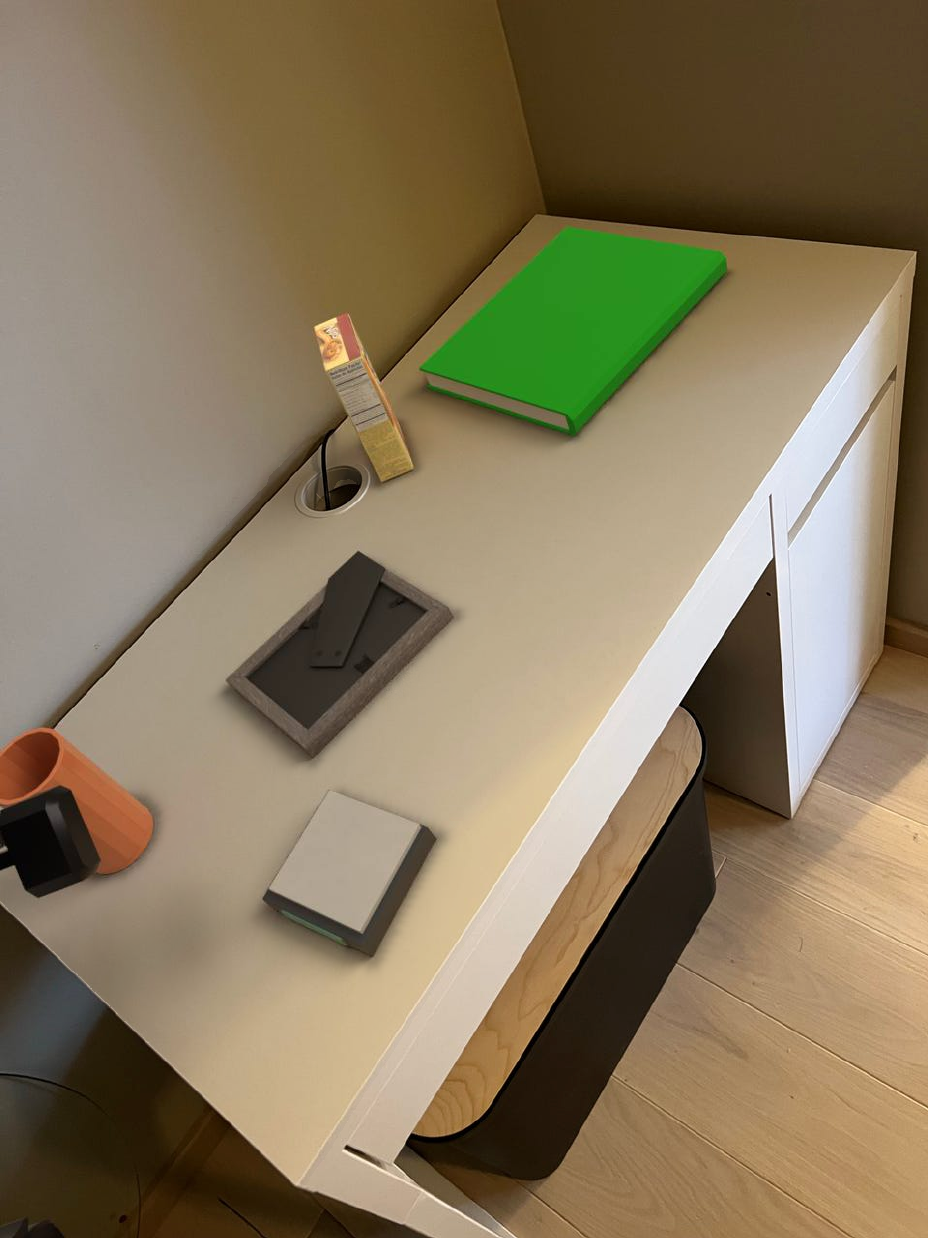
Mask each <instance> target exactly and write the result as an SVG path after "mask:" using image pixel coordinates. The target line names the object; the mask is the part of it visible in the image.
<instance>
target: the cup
mask: <svg viewBox="0 0 928 1238" xmlns="http://www.w3.org/2000/svg"><path fill="white" fill-rule="evenodd" d="M59 785H61V786H64V787H66V788H68V789H71V791H72V793H73V795H74V798H75V800H76V802H77V805H78V807H79V809H80V812H81V814H82V817H83V819H84V821H85V824H86V826H87V828H88V831H89V833H90V835H91V838H92V840H93V843H94V845H95V847H96V850H97V852H98V854H99V857H100V859H101V862H100V864H99V867H98V869H97V871H96V872H95V873H97V874H101V875H110V874H114V873H117V872H120V871H122V870H124V869H126V868H128V867H129V866H131V865H132V864H133V863H134V862H135V861H136V860H138V858H140V856H141V855H142V854H143V852H144V851H145V849H146V848H147V847H148V844H149V843H150V841H151V838H152V835H153V831H154V819H153V815H152V812H151V811H150V810H149V809H148V807H147V806H145V805H144V804H143V803H142V802H141V801H140V800H139V799H137V798H136V797H135V796H134V795H133V794H131V793H130V792H129V791H128V790H126V788H124V787H123V786H122V785H121V784H119V783H118V782H117V781H116V780H115V779H114V778H112V777H111V776H110V775H109V774H108V773H106V771H104V769H102V768H101V767H99V766H98V765H97V764H96V763H95V762H93V760H91V759H90V758H89V757H87V756H86V755H85V754H84V753H83V752H82V751H81V750H79V749H78V748H77V747H76V746H75V745H73V744H72V742H70V741H69V740H68V739H66V738H65V737H64V736H63V735H62V734H61V733H59V732H58V731H57V730H56V729H54V728H48V727H37V728H34V729H30V730H27V731H25V732H23V733H22V734H20V735H18V736H17V737H15V738H13V739H11V741H10V742H9V743H8V744H7V745H6V746H5V747H4V748H2V749H1V751H0V808H2V809H4V808H6V807H8V806H10V805H12V804H14V803H17V802H19V801H21V800H24V799H26V798H28V797H31V796H34V795H36V794H39V793H41V792H44V791H46V790H49V789H51V788H54V787H56V786H59Z"/></svg>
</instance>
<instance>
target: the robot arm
mask: <svg viewBox="0 0 928 1238" xmlns="http://www.w3.org/2000/svg"><path fill="white" fill-rule="evenodd" d="M3 848H6V849H4V850H2V851H0V872H1V871H3V870H6V869H9V868H11V867H13V866H14V868H15V870H16V873H17V875H18V878H19V880H20V882H21V884H22V886H23V889H24V891H25V892H27V893H28V894H30V895H32V896H33V897H35V898H36V899H40V898H43V897H45V896H48V895H51V894H53V893H56V892H58V891H61V890H64V889H66V888H69V887H71V886H75V885H76V884H79V883H82V882H85V881H86V880H87V879H89V878H90V877H91V876H92V875H94V874H95V873H96V871H97V869H98V867H99V864H100V862H101V859H100V857H99V854H98V852H97V850H96V847H95V845H94V843H93V840H92V838H91V835H90V833H89V831H88V828H87V826H86V824H85V821H84V819H83V817H82V814H81V812H80V809H79V807H78V805H77V802H76V800H75V798H74V795H73V793H72V791H71V789H68V788H66V787H64V786H61V785H59V786H56V787H54V788H51V789H49V790H46V791H44V792H41V793H39V794H36V795H34V796H31V797H28V798H26V799H24V800H21V801H19V802H17V803H14V804H12V805H10V806H8V807H6V808H4V809H3V808H2V809H0V849H3ZM29 1222H30V1221H29V1218H28V1217H23V1218H19V1219H17V1220H14V1221H12V1222H8V1223H6V1224H3V1225H0V1238H66V1237H65V1236H64V1234H63V1233H62V1231H61V1230H60V1229H59V1227H57V1226H56V1225H55V1223H54V1222H53V1221H52V1220H51V1219H46V1220H41V1221H38V1222H35V1223H32V1224H30V1223H29Z"/></svg>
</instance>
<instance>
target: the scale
mask: <svg viewBox="0 0 928 1238" xmlns="http://www.w3.org/2000/svg"><path fill="white" fill-rule="evenodd" d="M436 840H437V837H436V836H435V834H434V833H433V832H432V830H431V829H430V828H429V827H428V826H427V825H424V824H421V823H418V822H416V821H414V820H410V819H407V818H405V817H402V816H400V815H397V814H394V813H392V812H390V811H387V810H384V809H382V808H379V807H376V806H374V805H371V804H369V803H366V802H363V801H361V800H358V799H355V798H353V797H351V796H347V795H345V794H342V793H340V792H337V791H334V790H332V789H328V790H327V791H326V794H325V795H324V796H323V798H322V800H321V802H320V803H319V805H318V806H317V808H316V809H315V811H314V812H313V815H312V816H311V817H310V820H309V821H308V823H307V824H306V826H305V827H304V829H303V831H302V832H301V834H300V835H299V837H298V839H297V840H296V842H295V844H294V845H293V847H292V848H291V850H290V852H289V854H288V855H287V857H286V859H285V860H284V862H283V863H282V864H281V867H280V868H279V870H278V871H277V874H276V875H275V877H274V878H273V880H272V881H271V883H270V884H269V886H268V888H267V889H266V891H265V893H264V894H263V896H262V897H261V900H262V901H263V902H264V903H265V904H267V905H268V906H269V907H270V908H271V909H273V910H275V911H277V912H279V913H281V914H282V915H284V916H285V917H286V918H287V919H290V920H292V921H294V922H296V923H298V924H300V925H302V926H304V927H306V928H308V929H310V930H312V931H315V932H317V933H318V934H320V935H323V936H325V937H327V938H329V939H331V940H333V941H335V942H337V943H339V944H342V945H343V946H345V947H348V946H349V947H351V948H353V949H355V950H357V951H359V952H362V953H364V954H365V955H368V956H370V957H372V958H373V957H374V956H375V954H376V952H377V950H378V948H379V946H380V944H381V942H382V941H383V939H384V937H385V935H386V934H387V931H388V930H389V927H390V926H391V924H392V922H393V920H394V918H395V916H396V915H397V913H398V911H399V909H400V907H401V905H402V904H403V902H404V900H405V898H406V896H407V895H408V893H409V891H410V889H411V887H412V885H413V883H414V881H415V879H416V878H417V876H418V873H419V872H420V870H421V868H422V867H423V865H424V863H425V861H426V859H427V857H428V856H429V854H430V852H431V850H432V848H433V846H434V844H435V843H436Z"/></svg>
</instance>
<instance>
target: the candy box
mask: <svg viewBox="0 0 928 1238" xmlns="http://www.w3.org/2000/svg"><path fill="white" fill-rule="evenodd" d="M313 331H314V336H315V339H316V343H317V347H318V351H319V354H320V358H321V361H322V365H323V368H324V372H325V374H326V376H327V378H328V379H329V381H330V383H331V385H332V387H333V389H334V391H335V392H336V395H337V397H338V398H339V401H340V403H341V405H342V406H343V409H344V411H345V413H346V415H347V417H348V418H349V419H348V420H349V421H350V423H351V425H352V427H353V429H354V430H355V432H356V434H357V436H358V439H359V440H360V442H361V445H362V446H363V447H362V448H363V449H364V451H365V452H366V455H367V456H368V459H369V461H370V462H371V464H372V467H373V468H374V471H375V473H376V474H377V477H378V478H379V480H380V482H381V483H384V482H387V481H389V480H391V479H393V478H396V477H398V476H401V475H403V474H405V473H408V472H410V471H413V470H414V465H413V462H412V458H411V456H410V452H409V448H408V446H407V443H406V439H405V437H404V434H403V431H402V428H401V425H400V422H399V421H398V419H397V417H396V414H395V413H394V411H393V408H392V406H391V404H390V402H389V398H388V397H387V395H386V392H385V390H384V388H383V386H382V384H381V381H380V379H379V377H378V375H377V373H376V371H375V368H374V366H373V364H372V362H371V360H370V357H369V355H368V353H367V351H366V349H365V347H364V344H363V342H362V340H361V338H360V336H359V334H358V332H357V329H356V327H355V325H354V323H353V321H352V319H351V315H350V314H349V312H346V313H343V314H341V315H338V316H336V317H333V318H331V319H329V320H326V321H324V322H322V323H319V324H317V325H315V326H314V327H313Z"/></svg>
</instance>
